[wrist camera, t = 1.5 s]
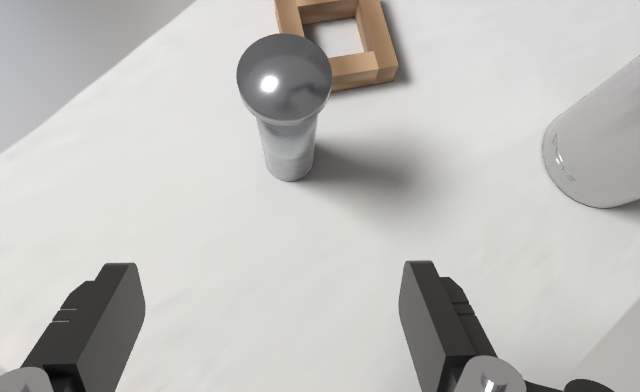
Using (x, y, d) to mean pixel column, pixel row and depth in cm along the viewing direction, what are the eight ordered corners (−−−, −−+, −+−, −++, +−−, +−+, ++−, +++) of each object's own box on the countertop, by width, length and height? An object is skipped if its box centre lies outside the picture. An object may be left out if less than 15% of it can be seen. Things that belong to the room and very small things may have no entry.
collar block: (368, -2, 40) (372, -22, 38) (392, 81, 38) (398, 65, 36) (275, 12, 39) (273, -8, 37) (294, 97, 37) (293, 82, 35)
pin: (313, 125, 36) (321, 27, 24) (326, 181, 35) (341, 109, 23) (253, 136, 36) (229, 41, 23) (264, 193, 35) (245, 125, 22)
